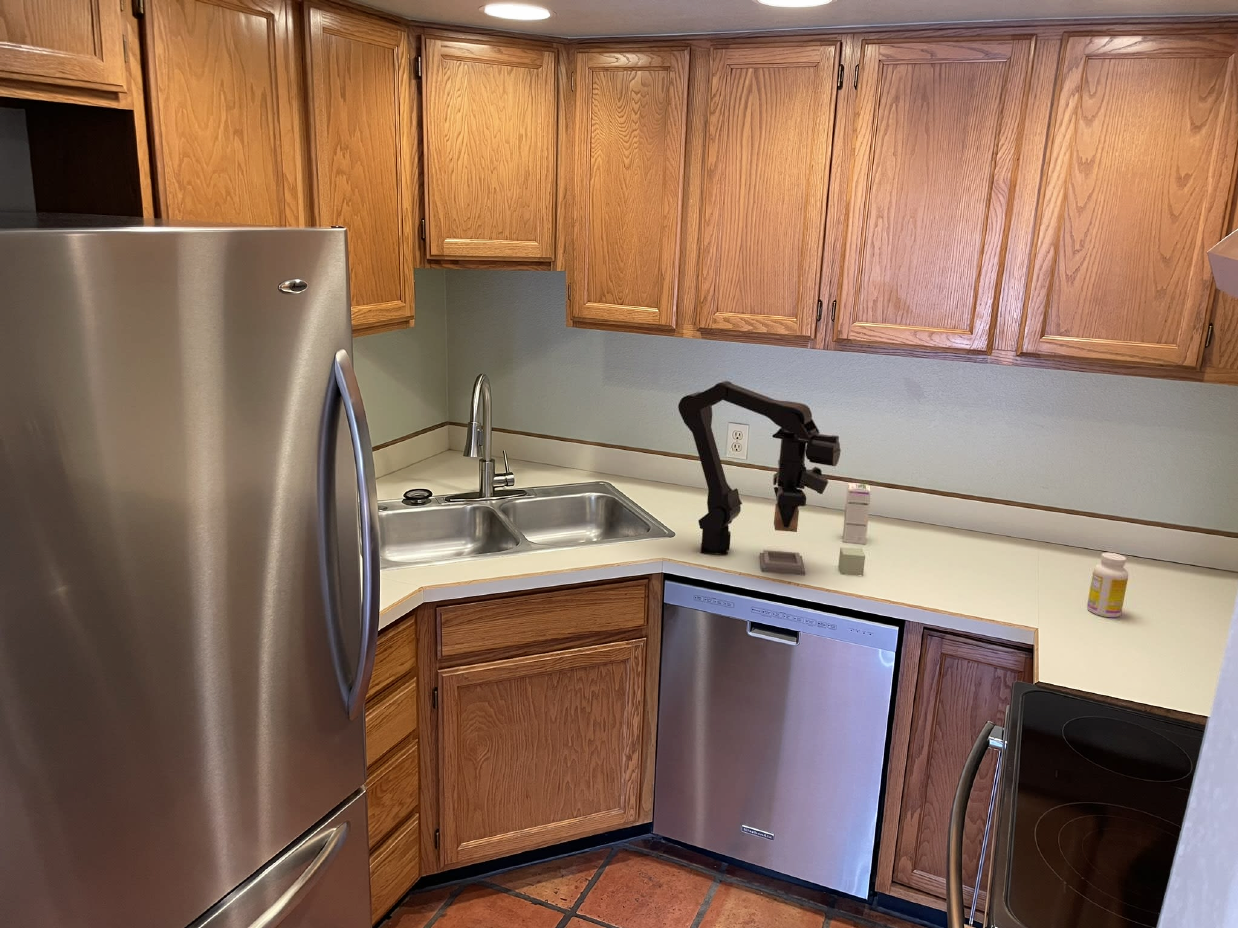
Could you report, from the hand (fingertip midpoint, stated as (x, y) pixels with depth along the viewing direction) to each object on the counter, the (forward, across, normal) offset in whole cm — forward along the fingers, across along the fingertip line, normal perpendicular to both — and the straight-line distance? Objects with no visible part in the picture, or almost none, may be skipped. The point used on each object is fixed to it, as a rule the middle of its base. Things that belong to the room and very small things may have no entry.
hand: (785, 523), depth 213 cm
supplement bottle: (+10, -13, -68) cm, 70 cm away
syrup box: (+11, +23, -20) cm, 32 cm away
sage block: (+10, 0, -16) cm, 19 cm away
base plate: (+10, 0, 0) cm, 10 cm away
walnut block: (+1, 0, 0) cm, 1 cm away
